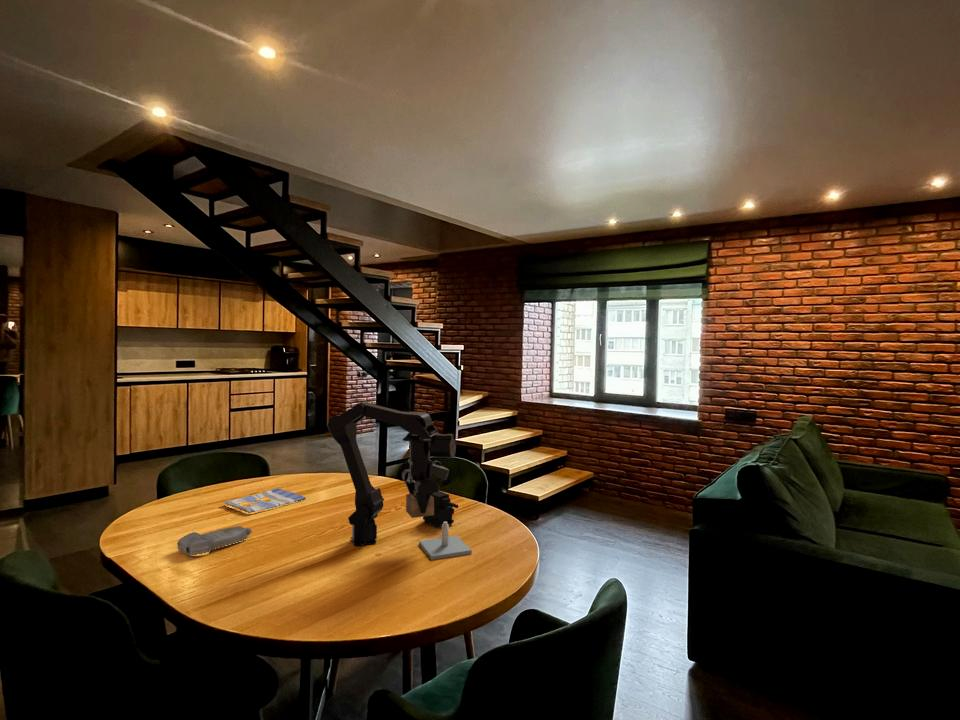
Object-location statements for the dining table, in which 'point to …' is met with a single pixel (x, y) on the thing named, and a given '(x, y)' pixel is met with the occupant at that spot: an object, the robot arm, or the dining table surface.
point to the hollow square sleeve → (413, 506)
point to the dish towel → (274, 495)
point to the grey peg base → (445, 545)
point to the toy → (441, 510)
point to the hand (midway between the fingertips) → (419, 509)
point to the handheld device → (211, 540)
